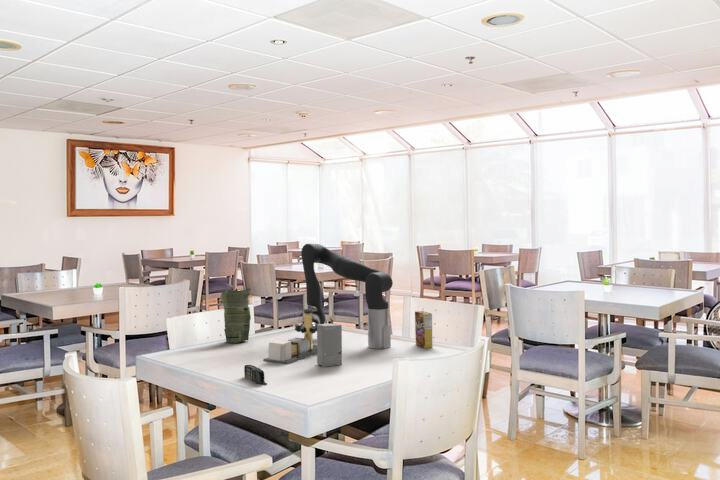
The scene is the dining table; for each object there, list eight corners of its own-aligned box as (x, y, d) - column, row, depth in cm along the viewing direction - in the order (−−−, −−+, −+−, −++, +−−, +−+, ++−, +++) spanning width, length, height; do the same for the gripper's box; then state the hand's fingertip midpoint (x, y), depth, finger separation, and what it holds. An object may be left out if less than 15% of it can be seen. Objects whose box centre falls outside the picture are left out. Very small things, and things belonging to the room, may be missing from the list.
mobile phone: (242, 364, 218) (260, 371, 205) (250, 363, 219) (268, 370, 207) (243, 378, 218) (260, 386, 205) (250, 376, 219) (268, 384, 207)
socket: (277, 356, 247) (277, 339, 247) (291, 358, 243) (291, 341, 243) (269, 359, 242) (268, 342, 242) (282, 361, 239) (282, 344, 239)
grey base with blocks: (310, 346, 271) (309, 331, 271) (332, 348, 265) (332, 334, 265) (263, 360, 243) (263, 344, 243) (287, 364, 237) (287, 347, 237)
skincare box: (323, 367, 231) (322, 326, 230) (316, 363, 237) (315, 323, 237) (343, 364, 235) (342, 324, 234) (335, 361, 241) (335, 321, 241)
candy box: (414, 344, 272) (414, 311, 272) (423, 343, 274) (422, 310, 273) (424, 348, 264) (424, 313, 264) (432, 347, 266) (432, 313, 265)
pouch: (219, 342, 281) (218, 289, 280) (234, 338, 292) (233, 286, 291) (239, 344, 276) (239, 290, 276) (254, 339, 287) (253, 287, 287)
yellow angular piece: (307, 347, 262) (306, 308, 262) (314, 348, 260) (314, 309, 260) (278, 356, 245) (278, 314, 245) (286, 357, 243) (286, 315, 243)
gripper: (295, 315, 274) (290, 322, 257) (326, 315, 274) (324, 321, 256) (295, 332, 274) (291, 339, 257) (326, 332, 274) (324, 339, 257)
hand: (307, 330), depth 257 cm, fingers closed on yellow angular piece, 3 cm apart
